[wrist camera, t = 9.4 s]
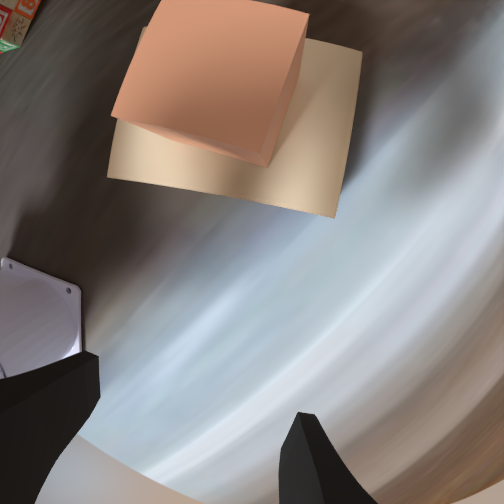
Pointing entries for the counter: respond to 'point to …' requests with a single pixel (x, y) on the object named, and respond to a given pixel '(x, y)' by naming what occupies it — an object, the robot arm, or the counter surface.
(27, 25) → the stack of blocks
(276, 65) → the terracotta block
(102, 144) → the counter surface
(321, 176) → the birch block
